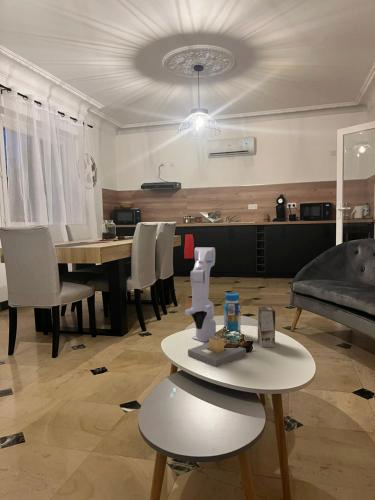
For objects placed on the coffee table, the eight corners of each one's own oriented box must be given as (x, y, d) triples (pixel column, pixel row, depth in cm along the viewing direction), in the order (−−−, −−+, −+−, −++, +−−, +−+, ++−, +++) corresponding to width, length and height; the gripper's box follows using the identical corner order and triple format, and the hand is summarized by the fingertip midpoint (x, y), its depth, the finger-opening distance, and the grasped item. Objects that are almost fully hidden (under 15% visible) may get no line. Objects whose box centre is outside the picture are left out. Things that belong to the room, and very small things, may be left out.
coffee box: (275, 347, 157) (275, 311, 156) (260, 347, 157) (260, 311, 156) (271, 340, 166) (271, 306, 165) (257, 340, 167) (257, 306, 165)
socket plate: (217, 345, 161) (217, 337, 161) (245, 354, 149) (245, 346, 149) (188, 355, 149) (187, 347, 149) (216, 366, 137) (216, 358, 137)
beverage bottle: (220, 333, 178) (219, 293, 176) (232, 330, 183) (232, 291, 181) (232, 337, 171) (231, 296, 169) (244, 334, 176) (244, 293, 174)
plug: (215, 352, 152) (215, 335, 152) (224, 355, 149) (224, 338, 148) (209, 354, 150) (208, 337, 149) (217, 358, 146) (217, 340, 145)
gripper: (192, 301, 146) (193, 334, 147) (217, 296, 155) (217, 326, 157) (181, 299, 151) (181, 330, 152) (205, 293, 161) (205, 323, 162)
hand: (199, 328), depth 155 cm, fingers closed
